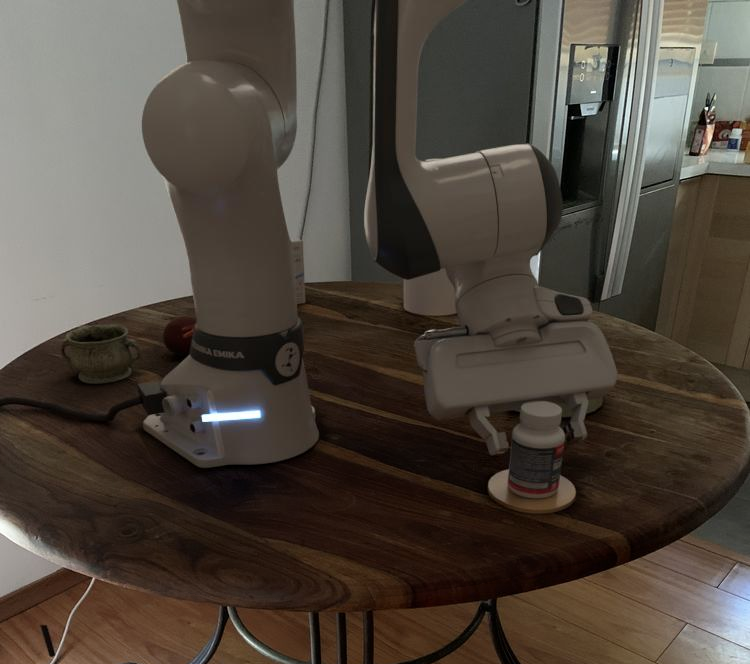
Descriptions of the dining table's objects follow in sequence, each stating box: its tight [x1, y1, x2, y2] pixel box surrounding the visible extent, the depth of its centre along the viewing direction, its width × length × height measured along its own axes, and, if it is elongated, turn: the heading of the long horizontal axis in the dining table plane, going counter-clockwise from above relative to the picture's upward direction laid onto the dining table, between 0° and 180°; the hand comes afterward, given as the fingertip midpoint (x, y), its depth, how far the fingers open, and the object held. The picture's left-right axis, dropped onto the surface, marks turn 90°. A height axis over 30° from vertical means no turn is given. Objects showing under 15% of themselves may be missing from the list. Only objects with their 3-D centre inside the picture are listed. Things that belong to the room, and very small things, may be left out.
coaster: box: [487, 468, 577, 515], centre depth 76 cm, size 9×9×1 cm
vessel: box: [59, 323, 143, 385], centre depth 106 cm, size 12×9×6 cm
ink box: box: [289, 235, 306, 305], centre depth 137 cm, size 9×5×12 cm, turn 117°
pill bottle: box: [507, 401, 566, 499], centre depth 74 cm, size 5×5×9 cm
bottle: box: [403, 158, 457, 317], centre depth 131 cm, size 12×12×25 cm
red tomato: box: [162, 315, 197, 358], centre depth 113 cm, size 8×9×6 cm
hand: (539, 446), depth 73 cm, fingers open, 7 cm apart
